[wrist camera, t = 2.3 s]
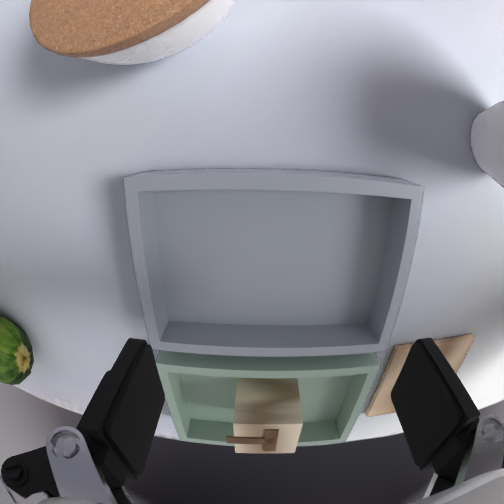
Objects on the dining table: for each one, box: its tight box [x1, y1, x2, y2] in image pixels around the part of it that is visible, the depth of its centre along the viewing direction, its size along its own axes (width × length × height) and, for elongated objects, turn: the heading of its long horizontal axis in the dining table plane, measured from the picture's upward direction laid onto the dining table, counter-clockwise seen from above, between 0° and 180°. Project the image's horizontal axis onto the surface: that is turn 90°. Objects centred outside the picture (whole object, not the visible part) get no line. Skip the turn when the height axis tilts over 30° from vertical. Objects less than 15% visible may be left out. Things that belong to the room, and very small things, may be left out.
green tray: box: [156, 350, 380, 446], centre depth 22 cm, size 17×12×3 cm
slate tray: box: [124, 168, 424, 357], centre depth 17 cm, size 17×12×3 cm
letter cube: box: [226, 378, 303, 453], centre depth 21 cm, size 6×5×5 cm
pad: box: [366, 334, 475, 417], centre depth 23 cm, size 10×10×1 cm
